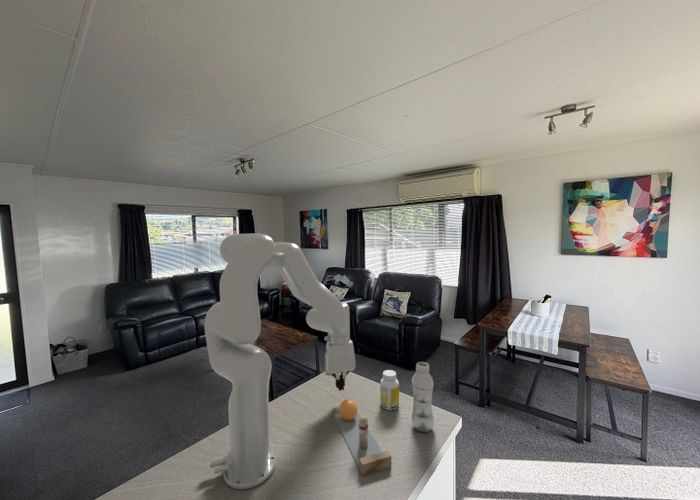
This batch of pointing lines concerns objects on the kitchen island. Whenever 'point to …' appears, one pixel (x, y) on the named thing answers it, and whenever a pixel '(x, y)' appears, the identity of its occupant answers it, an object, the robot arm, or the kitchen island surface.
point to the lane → (356, 438)
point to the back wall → (375, 463)
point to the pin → (363, 432)
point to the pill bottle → (389, 390)
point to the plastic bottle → (422, 398)
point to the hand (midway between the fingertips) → (340, 388)
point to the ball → (348, 410)
